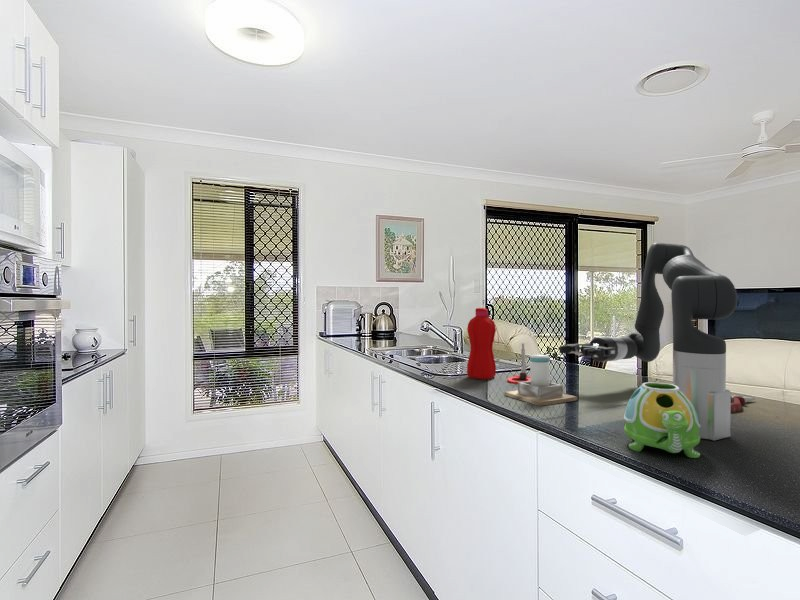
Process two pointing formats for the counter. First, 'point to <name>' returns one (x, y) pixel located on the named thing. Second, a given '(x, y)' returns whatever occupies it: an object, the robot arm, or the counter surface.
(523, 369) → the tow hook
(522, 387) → the wooden square holder
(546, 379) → the cylindrical container
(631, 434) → the turtle holder
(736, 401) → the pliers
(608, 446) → the counter surface
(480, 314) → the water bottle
